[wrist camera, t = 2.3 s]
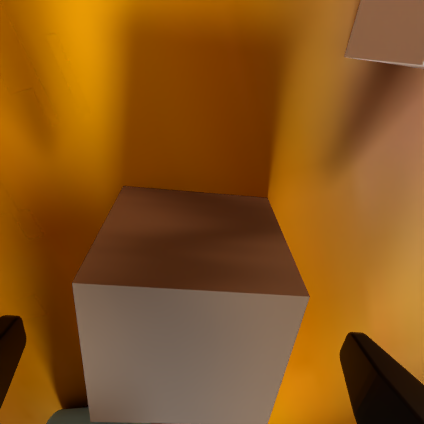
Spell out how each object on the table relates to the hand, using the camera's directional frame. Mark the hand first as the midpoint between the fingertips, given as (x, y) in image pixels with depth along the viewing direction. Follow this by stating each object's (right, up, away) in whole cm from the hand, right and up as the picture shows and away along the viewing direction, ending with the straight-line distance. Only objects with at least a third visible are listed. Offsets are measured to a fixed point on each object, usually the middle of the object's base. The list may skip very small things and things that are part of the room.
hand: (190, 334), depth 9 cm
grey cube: (0, +2, +3) cm, 4 cm away
